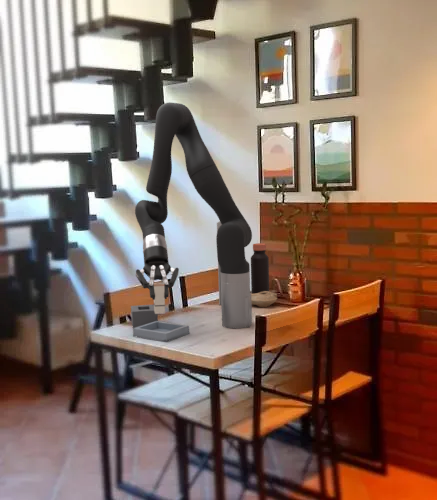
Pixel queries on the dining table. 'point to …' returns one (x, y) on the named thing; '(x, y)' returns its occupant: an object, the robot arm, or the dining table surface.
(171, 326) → the tray
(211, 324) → the dining table surface
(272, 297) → the pottery oil lamp
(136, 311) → the panel
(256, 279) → the bottle
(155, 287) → the block
